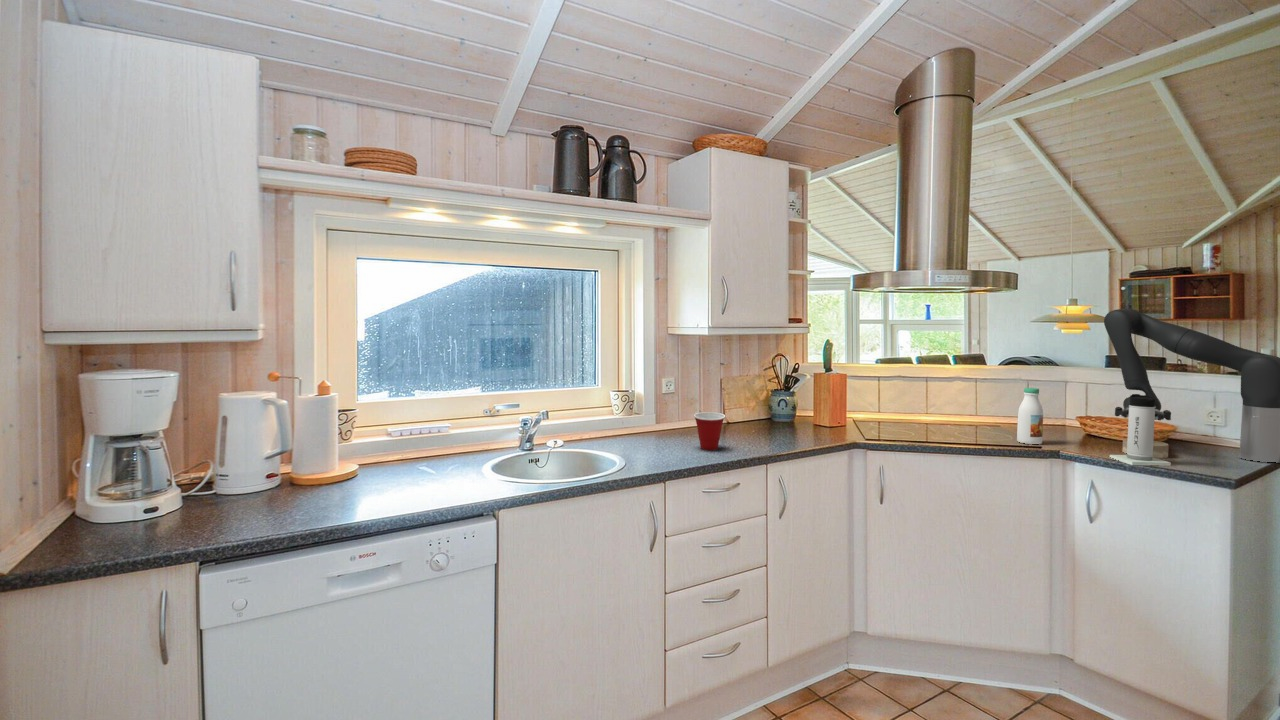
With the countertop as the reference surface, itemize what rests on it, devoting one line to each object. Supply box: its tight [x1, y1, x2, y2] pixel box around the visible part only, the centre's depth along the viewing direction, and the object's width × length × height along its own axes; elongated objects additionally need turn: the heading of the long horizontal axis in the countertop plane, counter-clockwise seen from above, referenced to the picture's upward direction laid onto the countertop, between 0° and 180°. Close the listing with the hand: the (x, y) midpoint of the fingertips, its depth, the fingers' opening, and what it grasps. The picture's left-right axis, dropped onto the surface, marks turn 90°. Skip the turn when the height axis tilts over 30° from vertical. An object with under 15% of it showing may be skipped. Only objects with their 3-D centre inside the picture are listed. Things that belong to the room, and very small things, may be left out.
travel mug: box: [1126, 393, 1156, 461], centre depth 188 cm, size 6×7×20 cm
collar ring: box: [1121, 438, 1170, 459], centre depth 200 cm, size 11×11×4 cm
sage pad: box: [1109, 454, 1172, 467], centre depth 189 cm, size 11×10×1 cm
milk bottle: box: [1016, 387, 1044, 445], centre depth 218 cm, size 8×8×20 cm
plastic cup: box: [693, 411, 726, 451], centre depth 207 cm, size 11×11×12 cm
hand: (1142, 415), depth 195 cm, fingers open, 8 cm apart
